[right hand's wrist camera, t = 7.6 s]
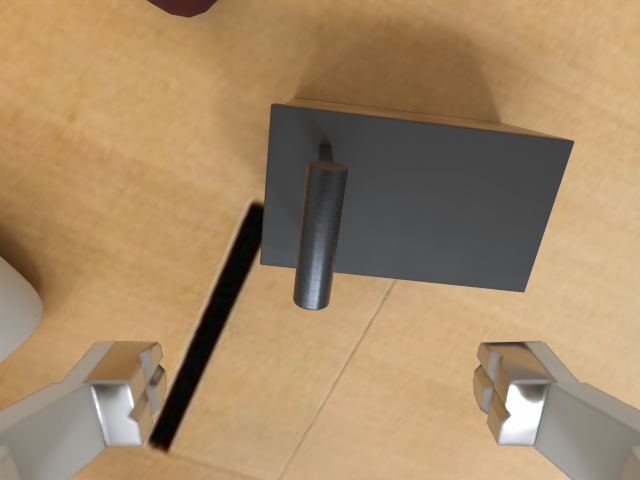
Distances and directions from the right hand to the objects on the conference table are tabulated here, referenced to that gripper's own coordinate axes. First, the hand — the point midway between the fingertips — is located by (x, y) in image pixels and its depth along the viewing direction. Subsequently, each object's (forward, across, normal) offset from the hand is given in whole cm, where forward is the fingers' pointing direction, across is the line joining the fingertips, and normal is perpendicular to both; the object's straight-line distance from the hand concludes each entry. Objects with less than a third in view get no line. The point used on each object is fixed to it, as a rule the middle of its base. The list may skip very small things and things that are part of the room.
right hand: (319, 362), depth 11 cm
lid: (+17, -6, +1) cm, 18 cm away
